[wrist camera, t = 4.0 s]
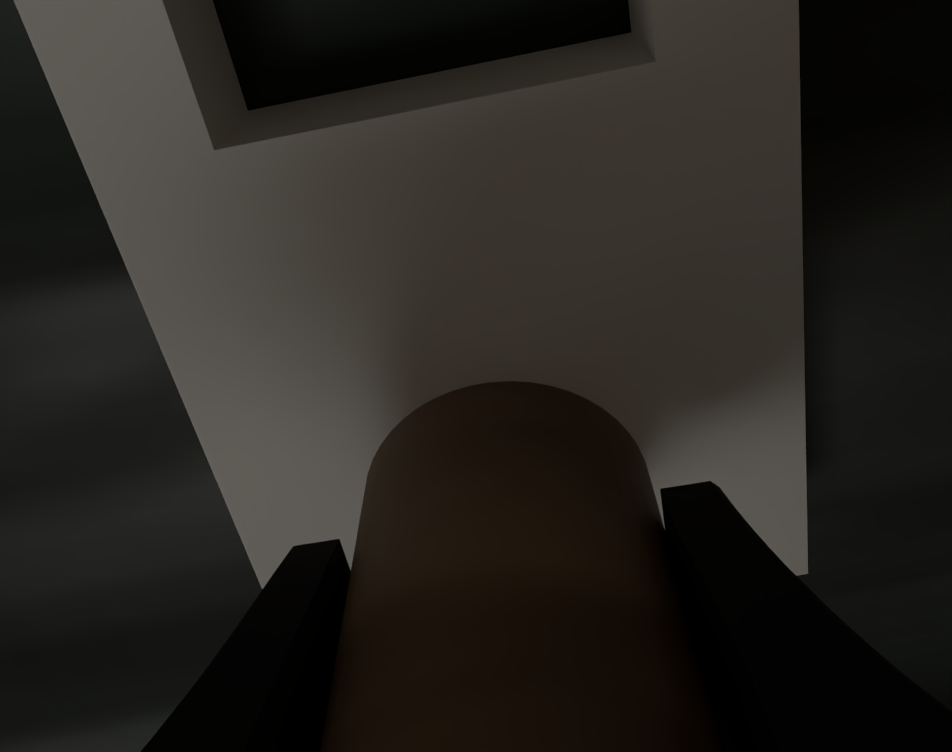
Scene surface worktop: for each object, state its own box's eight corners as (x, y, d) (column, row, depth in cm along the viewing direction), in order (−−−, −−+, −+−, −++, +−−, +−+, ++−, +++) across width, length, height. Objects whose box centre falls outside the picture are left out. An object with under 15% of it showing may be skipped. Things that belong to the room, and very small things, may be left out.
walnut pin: (711, 483, 13) (934, 1074, 6) (526, 648, 14) (567, 1247, 8) (484, 325, 11) (493, 871, 5) (308, 524, 13) (162, 1122, 7)
